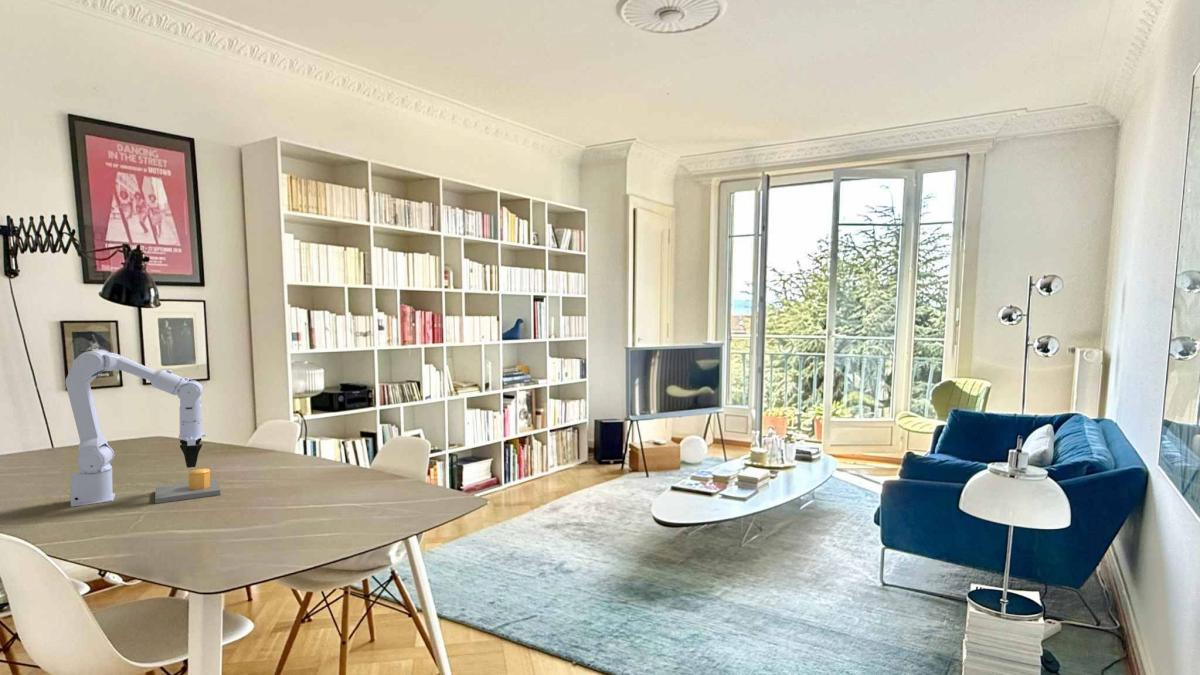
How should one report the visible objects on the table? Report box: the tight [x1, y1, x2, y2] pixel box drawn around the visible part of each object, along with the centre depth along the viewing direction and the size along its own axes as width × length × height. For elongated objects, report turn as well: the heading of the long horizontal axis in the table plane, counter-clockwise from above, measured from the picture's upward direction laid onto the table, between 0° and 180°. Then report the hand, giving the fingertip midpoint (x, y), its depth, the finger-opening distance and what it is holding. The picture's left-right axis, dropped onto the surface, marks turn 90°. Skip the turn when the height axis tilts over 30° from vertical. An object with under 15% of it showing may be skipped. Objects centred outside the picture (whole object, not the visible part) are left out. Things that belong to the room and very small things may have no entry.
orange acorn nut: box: [188, 468, 211, 490], centre depth 188 cm, size 5×5×5 cm
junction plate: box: [154, 478, 221, 504], centre depth 186 cm, size 16×14×4 cm
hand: (190, 464), depth 187 cm, fingers open, 7 cm apart
